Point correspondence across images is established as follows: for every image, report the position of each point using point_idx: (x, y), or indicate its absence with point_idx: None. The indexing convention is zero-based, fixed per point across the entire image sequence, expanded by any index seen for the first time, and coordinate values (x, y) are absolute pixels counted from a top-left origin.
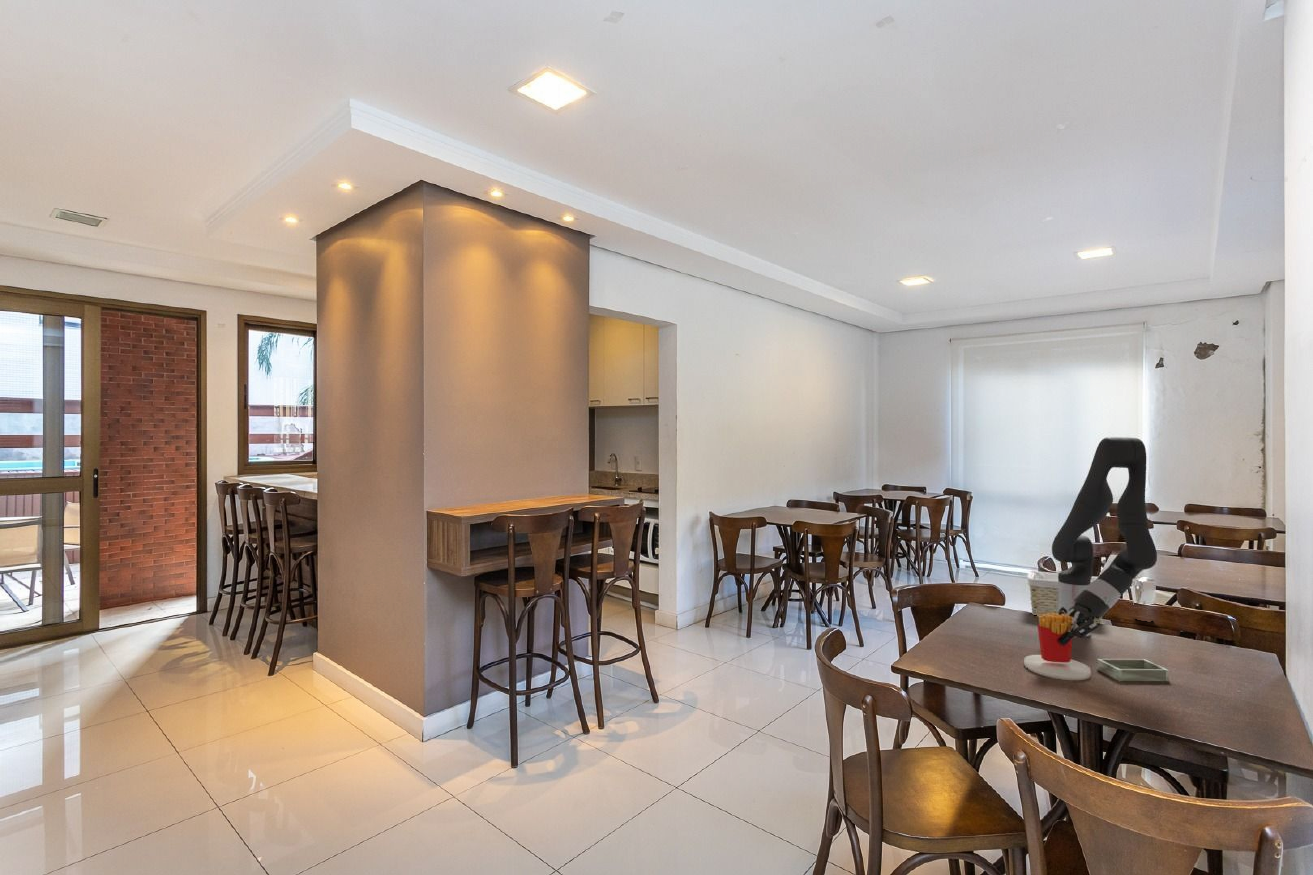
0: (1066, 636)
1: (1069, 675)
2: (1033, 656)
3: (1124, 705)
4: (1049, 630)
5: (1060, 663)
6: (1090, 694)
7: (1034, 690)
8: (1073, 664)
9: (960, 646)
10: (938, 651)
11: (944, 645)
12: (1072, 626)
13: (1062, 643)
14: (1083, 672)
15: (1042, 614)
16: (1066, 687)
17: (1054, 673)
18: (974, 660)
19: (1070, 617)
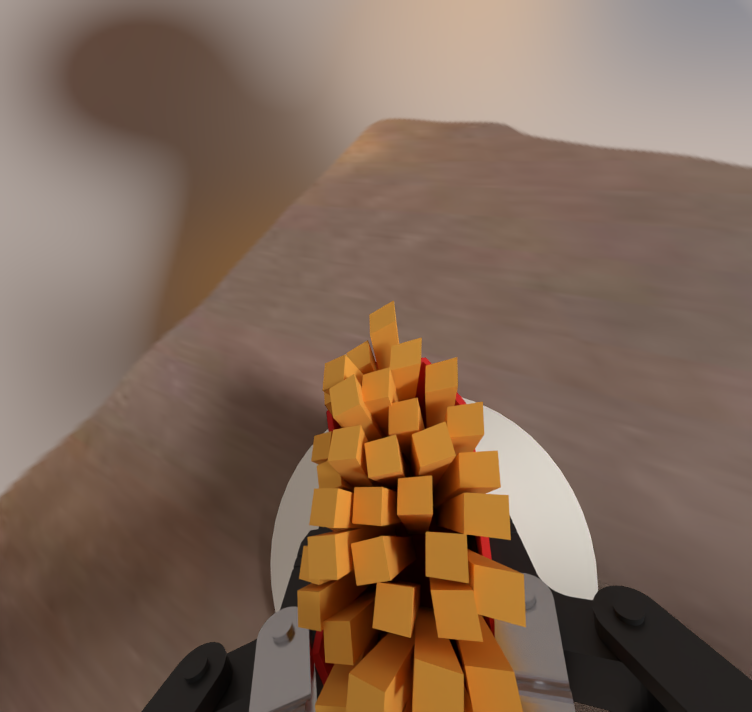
0: (298, 578)
1: (274, 532)
2: (528, 460)
3: (23, 638)
4: (332, 430)
5: None
6: (139, 545)
7: (200, 357)
8: None
9: (635, 227)
10: (528, 170)
11: (618, 185)
12: (269, 702)
13: None
14: None
15: (416, 343)
16: (212, 478)
17: (298, 469)
18: (461, 249)
19: None
